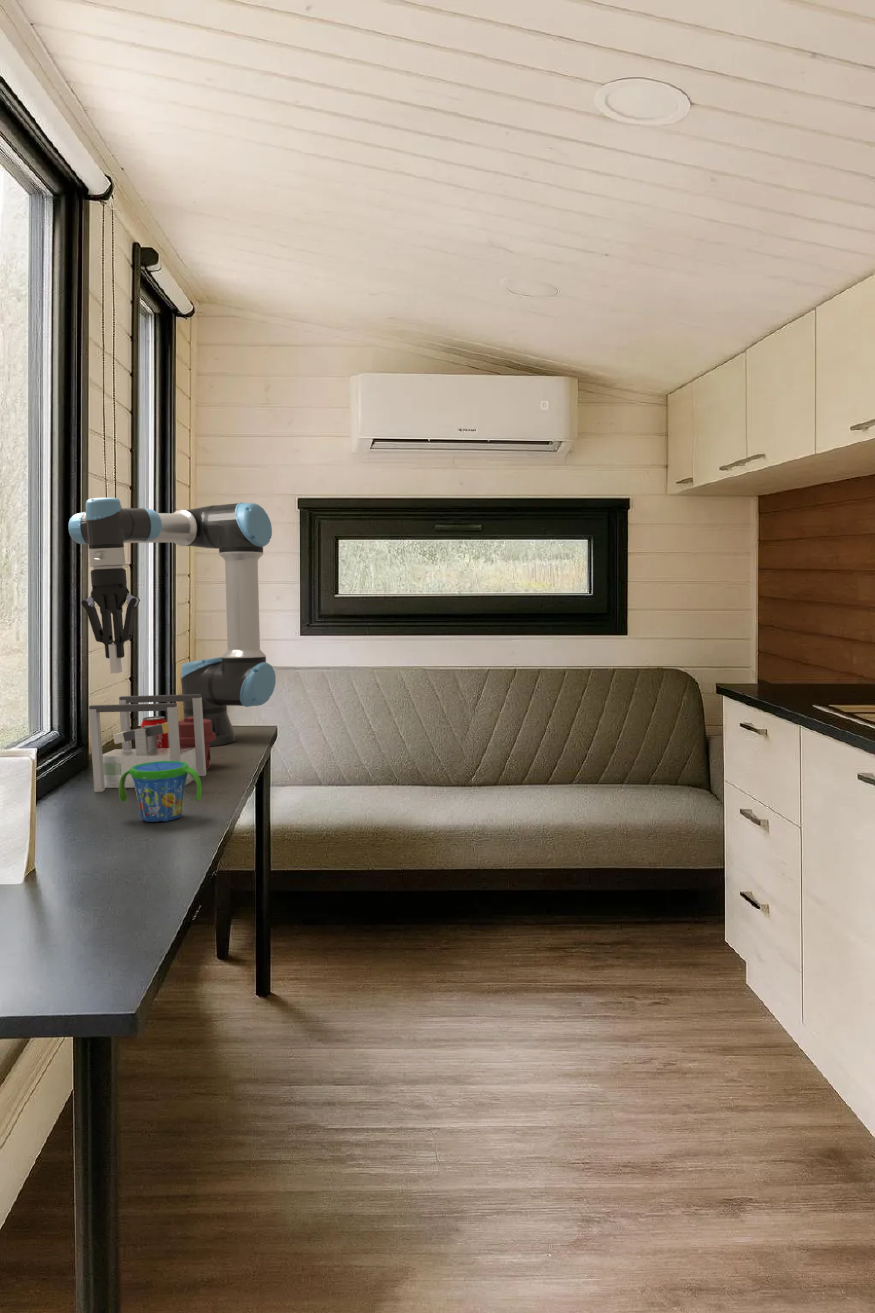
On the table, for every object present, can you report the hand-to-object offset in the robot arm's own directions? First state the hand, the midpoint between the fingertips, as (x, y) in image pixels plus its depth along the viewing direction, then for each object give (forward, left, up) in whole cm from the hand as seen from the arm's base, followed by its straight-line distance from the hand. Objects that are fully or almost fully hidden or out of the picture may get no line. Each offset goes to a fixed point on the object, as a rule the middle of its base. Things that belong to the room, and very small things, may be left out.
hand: (116, 672), depth 223 cm
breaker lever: (+4, +8, -14) cm, 17 cm away
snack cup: (+36, +24, -25) cm, 50 cm away
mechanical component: (-12, +13, -25) cm, 30 cm away
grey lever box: (+4, +8, -25) cm, 26 cm away
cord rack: (+4, +8, -25) cm, 26 cm away
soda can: (-15, +2, -25) cm, 29 cm away
